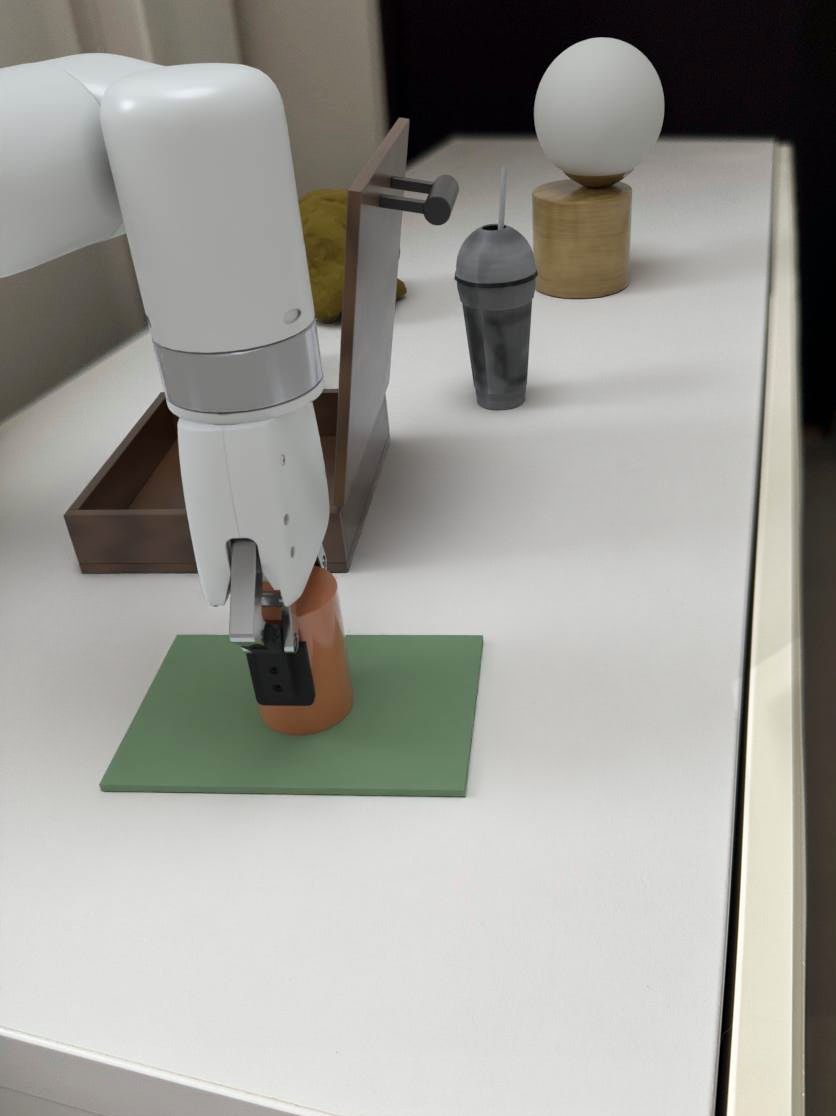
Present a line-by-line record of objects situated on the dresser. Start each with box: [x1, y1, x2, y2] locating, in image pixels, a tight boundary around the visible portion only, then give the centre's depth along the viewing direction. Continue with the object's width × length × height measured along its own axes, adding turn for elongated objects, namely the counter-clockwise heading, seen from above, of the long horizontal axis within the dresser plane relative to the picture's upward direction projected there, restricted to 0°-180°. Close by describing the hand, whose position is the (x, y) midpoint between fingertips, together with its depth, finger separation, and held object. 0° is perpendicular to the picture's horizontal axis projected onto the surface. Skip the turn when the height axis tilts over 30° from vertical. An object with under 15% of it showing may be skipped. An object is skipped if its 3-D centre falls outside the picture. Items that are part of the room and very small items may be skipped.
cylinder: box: [252, 565, 354, 735], centre depth 60 cm, size 6×6×8 cm
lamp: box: [531, 36, 665, 299], centre depth 118 cm, size 15×14×25 cm
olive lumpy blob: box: [298, 188, 408, 323], centre depth 117 cm, size 14×14×14 cm
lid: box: [333, 117, 460, 507], centre depth 74 cm, size 20×22×5 cm
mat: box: [99, 634, 484, 797], centre depth 62 cm, size 20×14×1 cm
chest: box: [63, 388, 391, 574], centre depth 83 cm, size 20×22×5 cm
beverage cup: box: [454, 166, 538, 411], centre depth 92 cm, size 7×7×20 cm
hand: (298, 664), depth 60 cm, fingers closed on cylinder, 5 cm apart
